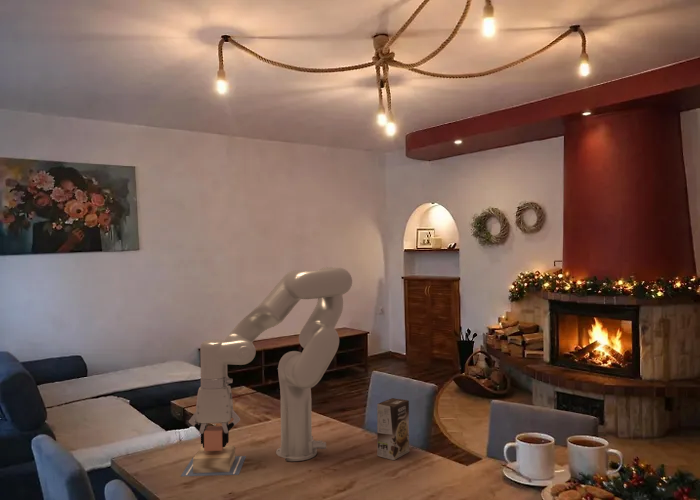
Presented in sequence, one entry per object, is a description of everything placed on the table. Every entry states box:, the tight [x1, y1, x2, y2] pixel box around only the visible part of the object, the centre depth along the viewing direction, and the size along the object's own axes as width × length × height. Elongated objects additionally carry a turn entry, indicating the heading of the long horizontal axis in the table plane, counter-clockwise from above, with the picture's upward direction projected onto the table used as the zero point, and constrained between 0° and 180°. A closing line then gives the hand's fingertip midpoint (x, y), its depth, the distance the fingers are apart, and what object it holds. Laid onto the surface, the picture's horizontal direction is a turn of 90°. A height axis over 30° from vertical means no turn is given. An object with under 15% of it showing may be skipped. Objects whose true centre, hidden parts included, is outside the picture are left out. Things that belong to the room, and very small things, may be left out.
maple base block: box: [192, 444, 236, 473], centre depth 158 cm, size 10×10×4 cm
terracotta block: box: [204, 425, 224, 451], centre depth 158 cm, size 5×5×6 cm
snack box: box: [376, 397, 410, 461], centre depth 168 cm, size 9×6×16 cm
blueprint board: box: [180, 455, 247, 477], centre depth 158 cm, size 16×14×1 cm
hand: (214, 445), depth 158 cm, fingers closed on terracotta block, 4 cm apart
